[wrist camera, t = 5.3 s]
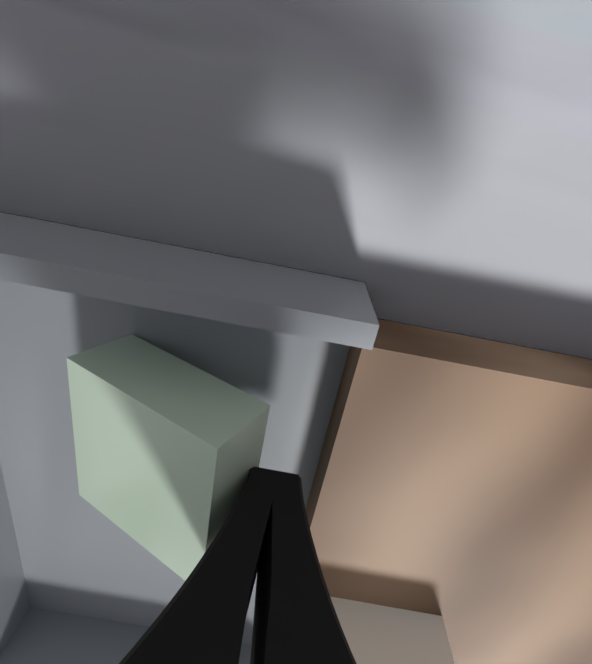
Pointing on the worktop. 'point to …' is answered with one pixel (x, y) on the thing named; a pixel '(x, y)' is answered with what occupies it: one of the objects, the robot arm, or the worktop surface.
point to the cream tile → (392, 634)
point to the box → (175, 338)
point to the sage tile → (161, 446)
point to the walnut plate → (463, 492)
